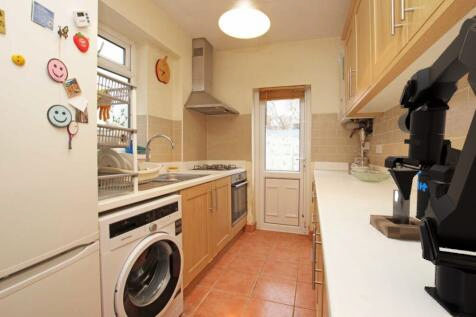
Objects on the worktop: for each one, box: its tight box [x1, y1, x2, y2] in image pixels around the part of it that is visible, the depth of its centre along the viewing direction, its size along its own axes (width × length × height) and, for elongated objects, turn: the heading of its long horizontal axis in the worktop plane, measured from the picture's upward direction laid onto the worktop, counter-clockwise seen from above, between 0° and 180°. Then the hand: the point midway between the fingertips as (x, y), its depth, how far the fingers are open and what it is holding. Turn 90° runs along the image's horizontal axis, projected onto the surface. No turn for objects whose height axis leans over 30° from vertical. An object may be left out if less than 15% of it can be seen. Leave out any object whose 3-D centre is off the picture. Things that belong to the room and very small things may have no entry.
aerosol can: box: [414, 168, 432, 221], centre depth 79 cm, size 8×8×20 cm
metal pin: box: [392, 189, 411, 225], centre depth 66 cm, size 4×4×12 cm
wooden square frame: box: [369, 214, 421, 241], centre depth 67 cm, size 12×12×3 cm
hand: (420, 206), depth 50 cm, fingers open, 9 cm apart
